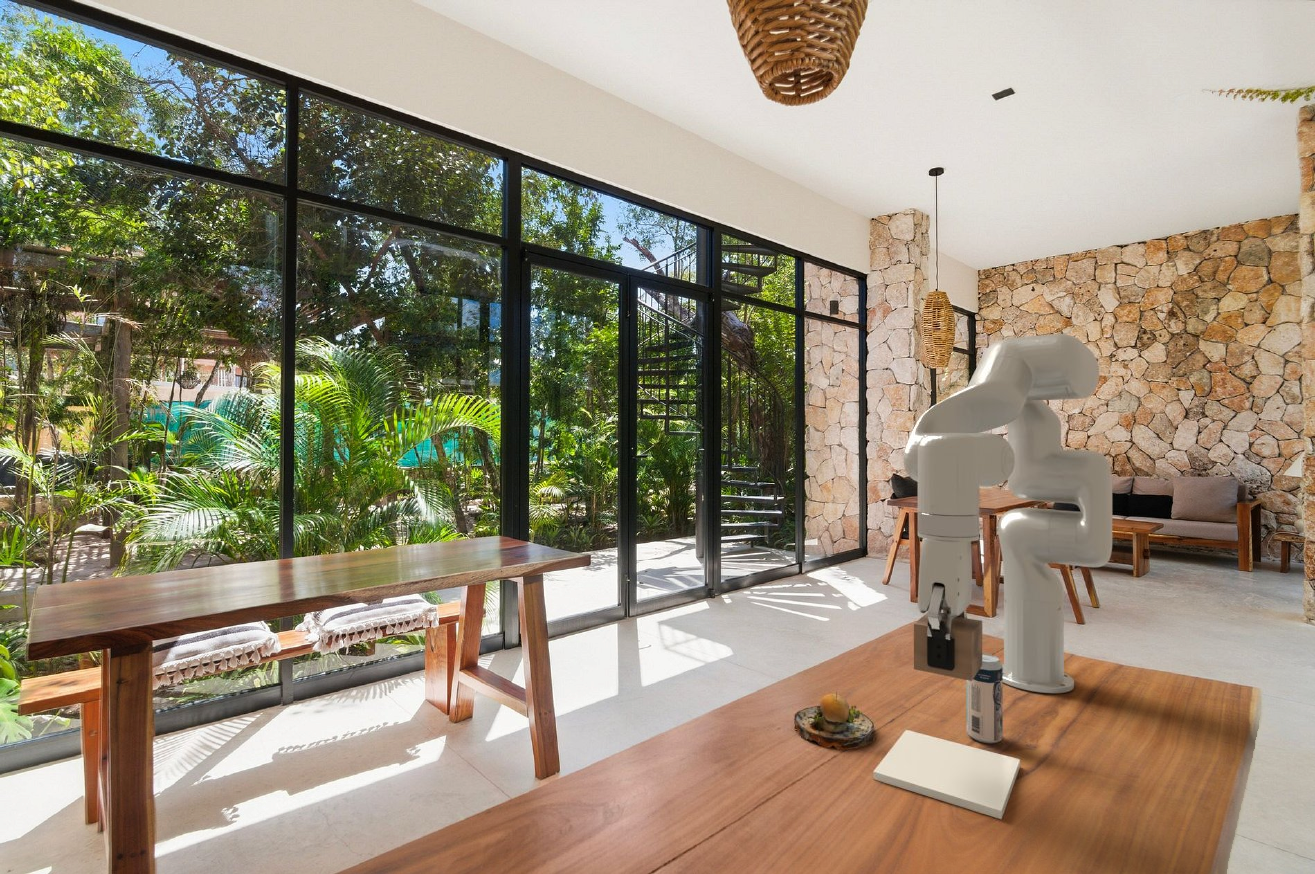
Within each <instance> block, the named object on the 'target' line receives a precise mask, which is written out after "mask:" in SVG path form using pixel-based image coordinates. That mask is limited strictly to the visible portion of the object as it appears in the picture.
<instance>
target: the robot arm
mask: <svg viewBox="0 0 1315 874" xmlns="http://www.w3.org/2000/svg"><path fill="white" fill-rule="evenodd" d="M1096 357H1097V356H1095V354H1094V352H1093V351H1092V350H1091V349H1090V348H1089V347H1088V346H1087V345H1085V343H1084V342H1082V340H1080V339H1079V338H1077V337H1075V336H1073V335H1070V334H1066V333H1053V334H1051V333H1050V334H1041V335H1031V336H1030V335H1029V336H1020V337H1019V336H1018V337H1008V338H1004V339H1000V340H998V341H995V342H993V343H992V344H991V345H989V346H988V347H987V348H986V349H985V351H984V353H983V354H982V356H981V358H980V360H979V362H978V363H977V367H976V369H975V370H974V372H973V374H972V376H971V379H970V380H969V382H968V384H967V387H965V388H963V389H961V390H959V391H957V392H955V393H953V394H952V395H949V396H947V398H945V399H943V400H942V401H939V402H938V403H935V404H934V405H932V406H931V407H929V408H928V409H926V411H925V412H923V413H922V414H921V415H920V417H919V418H918V420H917V421H916V423H915V425H914V427H913V428H912V430H911V432H910V435H909V436H908V439H907V441H906V443H905V447H904V451H903V466H904V471H905V472H906V474H907V475H908V476H909V478H911V479H912V480H913V481H915V482H917V536H918V537H919V538H921V539H922V541H921V546H920V557H919V567H918V568H919V569H918V590H917V610H918V611H919V613H921V614H926V613H927V612H928V619H929V621H928V629H927V664H928V666H930V667H934V668H939V669H944V670H949V671H952V670H954V668H955V639H952V631H953V621H954V618H955V617H961V618H968V615H967V608H968V607H969V606H970V604H971V600H972V587H973V586H972V585H973V583H972V582H973V579H972V578H973V573H972V571H973V567H972V566H973V565H972V551H973V550H972V542H976V541H979V540H980V487H983V488H985V487H996V486H1000V485H1001V484H1002V483H1004V482H1006V481H1007V483H1008V489H1009V491H1010V493H1011V494H1012V495H1013V496H1014V497H1015V498H1018V499H1020V500H1025V501H1034V502H1043V503H1044V502H1045V503H1058V504H1059V503H1062V504H1073V505H1076V506H1077V507H1078V508H1079V510H1080V511H1074V510H1057V509H1050V508H1049V509H1048V508H1036V507H1035V508H1034V507H1022V508H1021V507H1020V508H1013V509H1009V510H1008V511H1006V512H1004V513H1003V514H1002V515H1001V517H1000V519H999V521H998V527H997V534H998V540H999V545H1000V550H1001V551H1000V552H1001V557H1002V565H1003V566H1002V568H1003V663H1001V665H1002V666H1003V683H1004V684H1006V685H1008V686H1011V687H1014V688H1017V689H1021V690H1025V691H1028V692H1035V693H1043V694H1063V693H1068V692H1071V691H1072V690H1074V688H1075V681H1074V678H1072V676H1070V675H1069V674H1067V673H1065V672H1064V671H1065V666H1064V665H1065V664H1064V663H1065V662H1064V661H1065V659H1064V658H1065V647H1064V644H1065V641H1064V640H1065V632H1064V631H1065V627H1064V625H1065V624H1064V620H1065V619H1064V618H1065V617H1064V616H1065V614H1064V613H1065V610H1064V609H1065V607H1064V605H1065V604H1064V602H1065V601H1064V599H1065V592H1064V587H1063V584H1062V582H1061V580H1060V578H1059V577H1058V575H1057V574H1056V572H1055V571H1054V570H1053V569H1052V568H1051V566H1050V565H1049V564H1059V565H1067V566H1075V567H1087V568H1100V567H1103V566H1105V565H1106V564H1108V562H1109V561H1110V559H1111V556H1112V551H1113V550H1112V549H1113V477H1112V475H1113V474H1112V470H1111V466H1110V464H1109V461H1108V459H1107V457H1106V456H1105V455H1103V454H1102V453H1100V452H1098V451H1096V450H1090V449H1088V450H1087V449H1063V446H1062V423H1061V420H1060V418H1059V417H1058V415H1057V414H1056V412H1055V411H1054V410H1053V409H1052V408H1051V407H1050V405H1048V404H1047V403H1046V402H1045V401H1053V400H1054V401H1056V400H1059V401H1060V400H1080V399H1081V400H1082V399H1086V398H1089V397H1090V396H1091V395H1092V394H1093V393H1094V392H1095V391H1096V389H1097V387H1098V385H1099V382H1100V368H1099V367H1100V366H1099V363H1098V360H1097V358H1096ZM1006 425H1007V439H1005V438H1004V437H1003V436H1002V435H998V434H995V433H992V432H991V433H988V432H989V431H991V430H995V429H998V428H1000V427H1003V426H1006ZM942 611H943V612H942ZM941 619H944V620H947V626H945V625H946V624H945V623H944V621H941Z"/></svg>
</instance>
